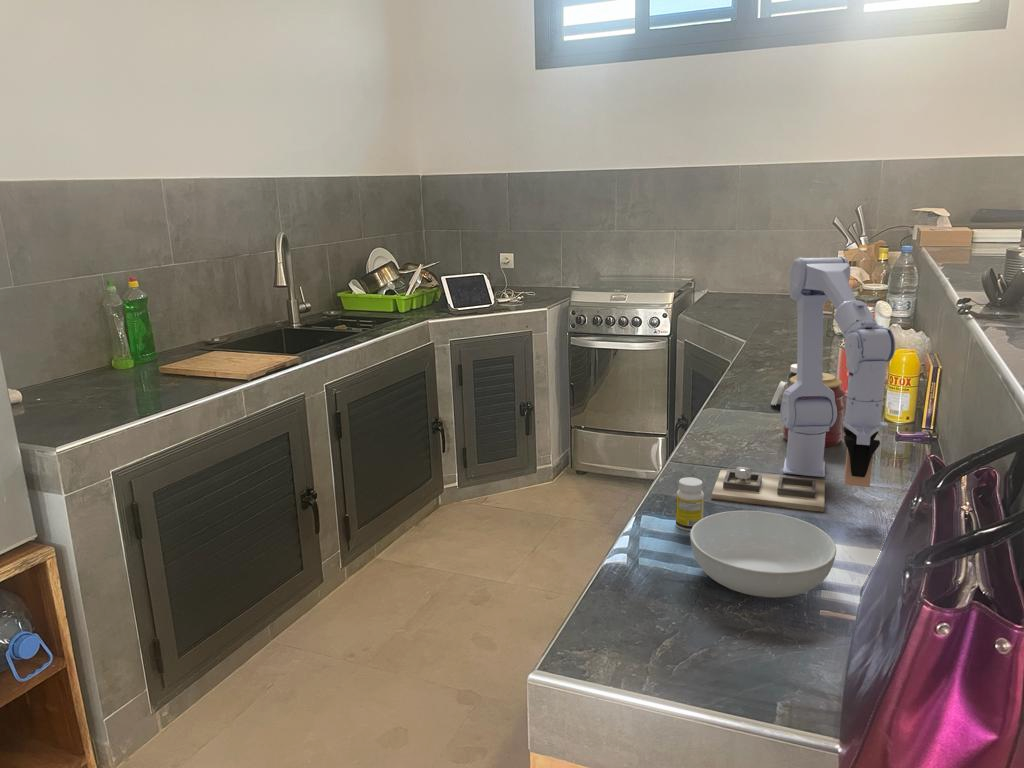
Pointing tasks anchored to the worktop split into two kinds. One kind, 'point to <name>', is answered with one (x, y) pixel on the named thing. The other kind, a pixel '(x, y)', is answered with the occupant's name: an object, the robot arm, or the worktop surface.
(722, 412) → the worktop surface
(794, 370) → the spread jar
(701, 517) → the supplement bottle
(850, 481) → the tan tall block
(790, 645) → the worktop surface
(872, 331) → the robot arm
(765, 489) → the board
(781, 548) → the serving bowl
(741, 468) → the pin
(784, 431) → the canister
